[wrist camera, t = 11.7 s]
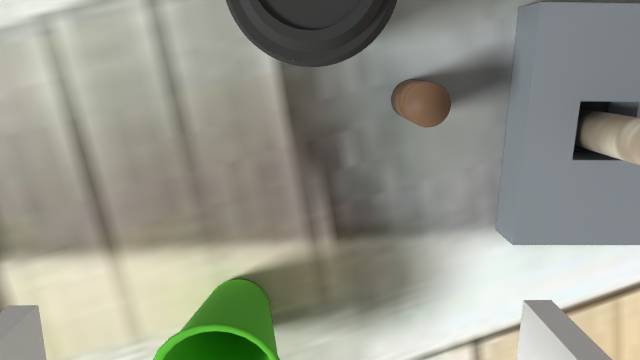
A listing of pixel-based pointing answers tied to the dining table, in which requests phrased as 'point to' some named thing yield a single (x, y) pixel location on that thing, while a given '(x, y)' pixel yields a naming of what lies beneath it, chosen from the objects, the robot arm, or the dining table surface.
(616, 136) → the long pin
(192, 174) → the dining table surface
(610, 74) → the grey block with hole
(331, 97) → the dining table surface
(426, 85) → the short pin
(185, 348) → the cup
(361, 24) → the coffee cup
